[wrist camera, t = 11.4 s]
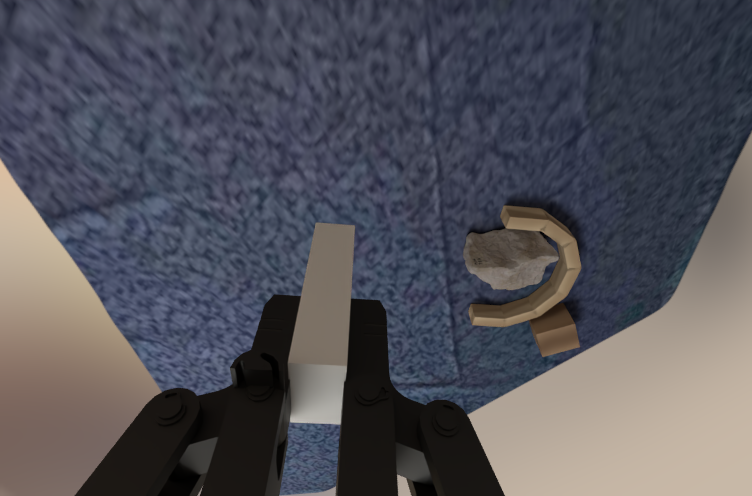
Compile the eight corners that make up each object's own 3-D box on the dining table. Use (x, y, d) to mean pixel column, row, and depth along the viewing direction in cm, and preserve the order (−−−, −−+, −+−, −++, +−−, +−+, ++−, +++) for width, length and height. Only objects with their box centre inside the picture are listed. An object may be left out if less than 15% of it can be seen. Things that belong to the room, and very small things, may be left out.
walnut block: (526, 312, 56) (535, 334, 53) (562, 302, 55) (574, 323, 51) (533, 334, 59) (542, 356, 55) (567, 325, 57) (579, 346, 54)
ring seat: (503, 205, 45) (510, 216, 43) (593, 212, 46) (604, 224, 44) (468, 311, 55) (472, 324, 53) (542, 316, 56) (549, 329, 54)
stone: (529, 276, 52) (545, 308, 47) (454, 271, 51) (462, 303, 47) (550, 224, 47) (569, 254, 42) (467, 218, 47) (477, 248, 42)
